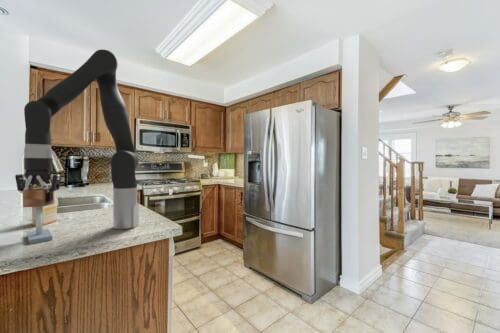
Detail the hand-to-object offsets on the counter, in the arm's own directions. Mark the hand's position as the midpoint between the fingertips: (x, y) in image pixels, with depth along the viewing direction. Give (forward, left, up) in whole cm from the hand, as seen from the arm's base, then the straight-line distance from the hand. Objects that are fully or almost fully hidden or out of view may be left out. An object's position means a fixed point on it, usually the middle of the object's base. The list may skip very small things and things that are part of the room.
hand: (38, 202), depth 84 cm
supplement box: (+13, -21, -14) cm, 28 cm away
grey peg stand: (0, 0, -13) cm, 13 cm away
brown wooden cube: (0, 0, -1) cm, 1 cm away
